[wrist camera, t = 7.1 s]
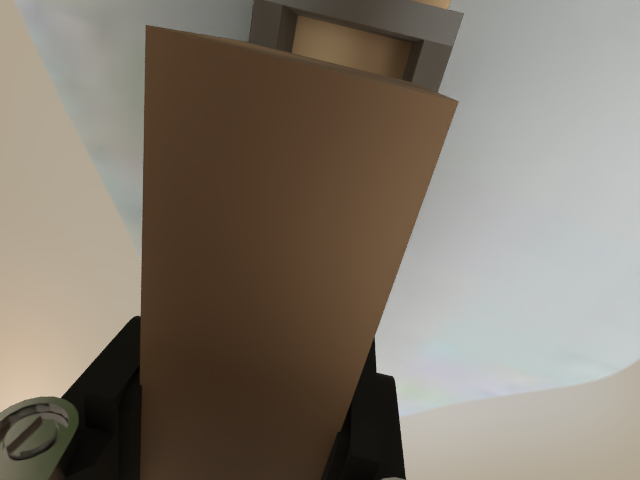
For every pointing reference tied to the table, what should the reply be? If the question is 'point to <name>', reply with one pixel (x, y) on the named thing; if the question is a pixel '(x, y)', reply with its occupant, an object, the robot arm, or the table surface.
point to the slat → (267, 248)
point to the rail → (363, 34)
